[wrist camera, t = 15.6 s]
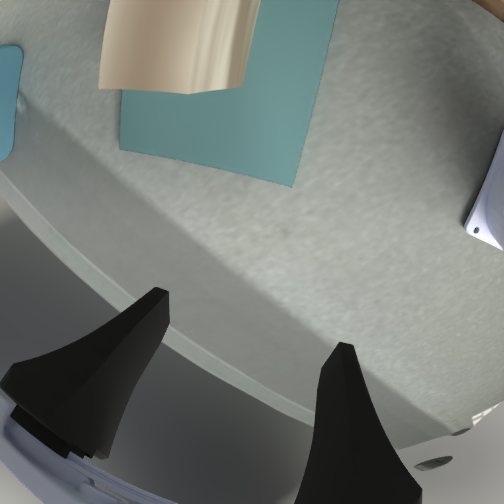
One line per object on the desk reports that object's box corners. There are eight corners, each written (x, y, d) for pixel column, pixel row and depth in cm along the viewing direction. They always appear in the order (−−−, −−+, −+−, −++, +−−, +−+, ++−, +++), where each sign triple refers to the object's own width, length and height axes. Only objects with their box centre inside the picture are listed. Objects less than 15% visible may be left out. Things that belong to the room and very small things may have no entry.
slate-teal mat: (349, -50, 8) (350, -56, 7) (293, 183, 17) (291, 187, 17) (159, -58, 9) (153, -61, 8) (125, 146, 18) (119, 149, 18)
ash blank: (262, -8, 10) (220, -58, 5) (242, 87, 14) (188, 94, 8) (194, -11, 11) (122, -44, 5) (177, 78, 14) (98, 89, 9)
